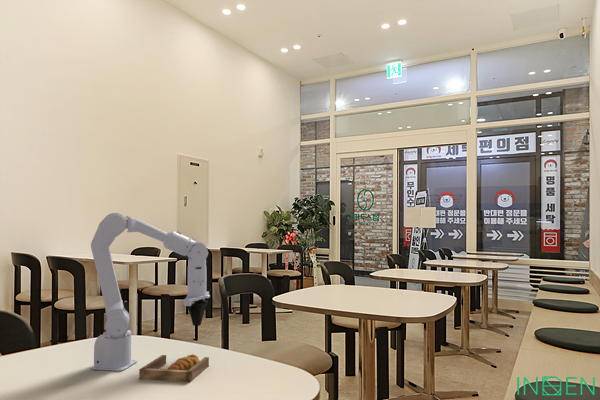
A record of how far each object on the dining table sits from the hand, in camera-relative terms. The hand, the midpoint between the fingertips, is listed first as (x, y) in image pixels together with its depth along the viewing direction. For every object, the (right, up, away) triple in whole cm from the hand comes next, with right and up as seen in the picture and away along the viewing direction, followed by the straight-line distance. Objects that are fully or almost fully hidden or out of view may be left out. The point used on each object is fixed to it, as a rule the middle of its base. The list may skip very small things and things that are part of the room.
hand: (196, 325), depth 130 cm
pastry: (0, -9, -13) cm, 16 cm away
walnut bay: (-2, -9, -14) cm, 16 cm away
